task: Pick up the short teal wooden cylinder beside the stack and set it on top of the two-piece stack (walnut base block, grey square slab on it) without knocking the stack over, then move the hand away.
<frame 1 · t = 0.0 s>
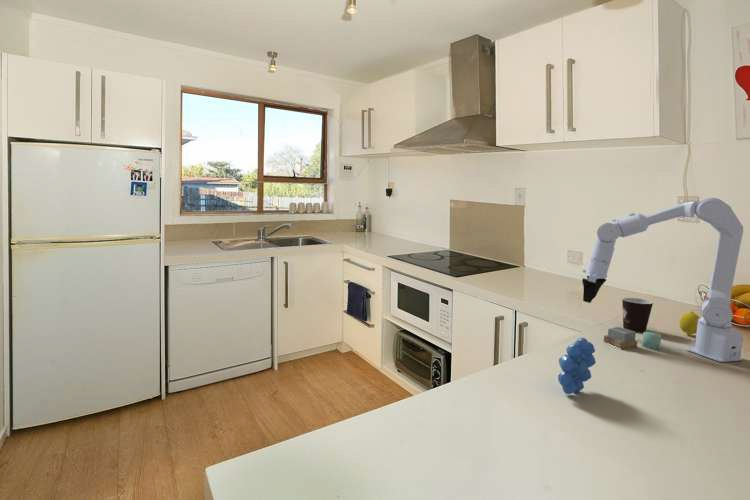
hand: (588, 299, 130), 11 cm above the countertop, tool pointing down, fingers open, 7 cm apart
grapes: (570, 390, 88), on the countertop
teal cylinder: (650, 347, 118), on the countertop
walnut block: (619, 346, 119), on the countertop
grey square slab: (621, 338, 119), point 2 cm above the countertop
coffee mug: (634, 329, 136), on the countertop
lemon: (688, 335, 130), on the countertop
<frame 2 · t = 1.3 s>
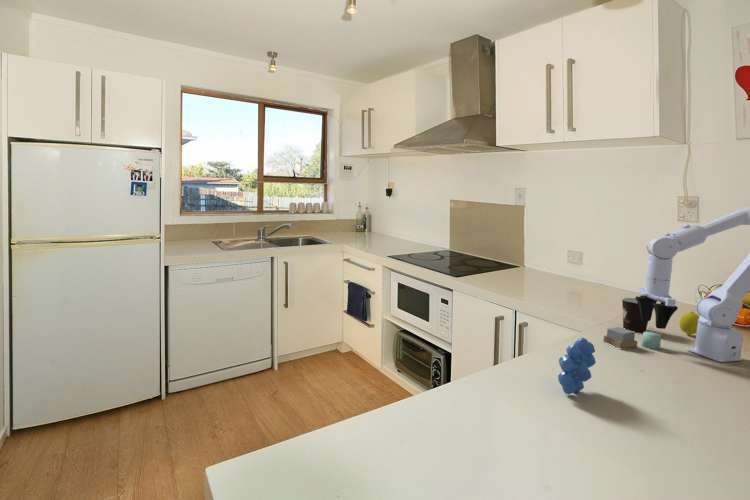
hand: (652, 324, 117), 7 cm above the countertop, tool pointing down, fingers open, 7 cm apart
walnut block: (619, 346, 119), on the countertop, touching grey square slab
grey square slab: (620, 338, 119), point 2 cm above the countertop, touching walnut block
everything else where it was.
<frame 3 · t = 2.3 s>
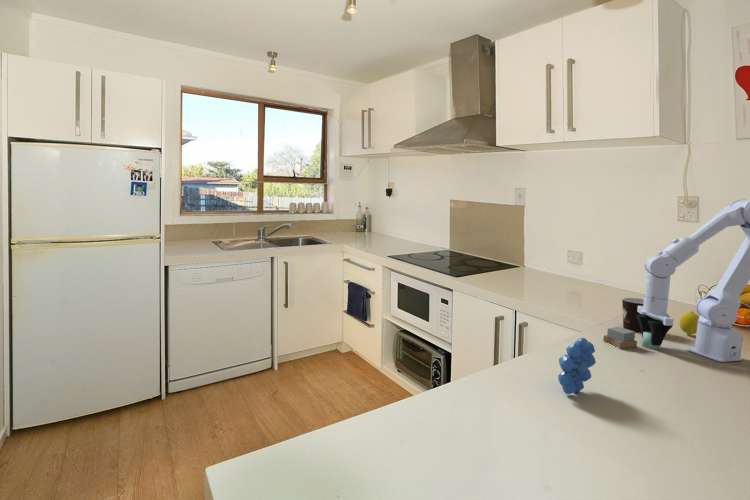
hand: (651, 342, 118), 1 cm above the countertop, tool pointing down, fingers closed on teal cylinder, 4 cm apart
teal cylinder: (650, 347, 118), on the countertop, touching gripper
walnut block: (619, 346, 119), on the countertop
grey square slab: (620, 338, 119), point 2 cm above the countertop
everything else where it was.
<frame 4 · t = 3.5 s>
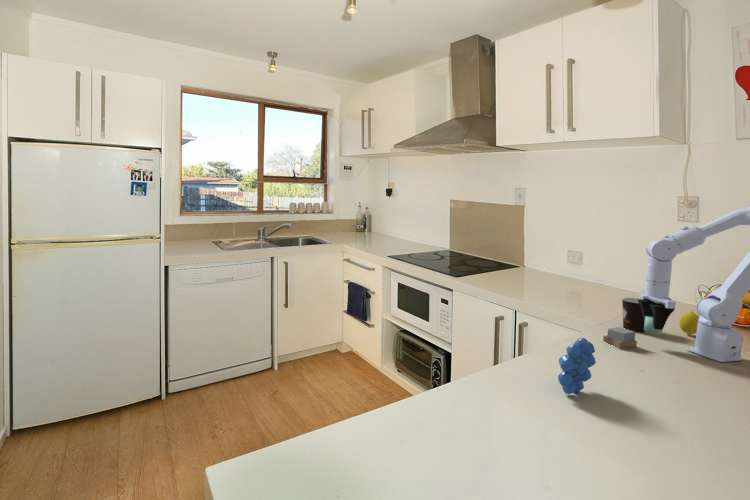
hand: (653, 326, 117), 6 cm above the countertop, tool pointing down, fingers closed on teal cylinder, 4 cm apart
teal cylinder: (652, 331, 117), point 5 cm above the countertop, touching gripper
walnut block: (619, 346, 119), on the countertop, touching grey square slab
grey square slab: (620, 338, 119), point 2 cm above the countertop, touching walnut block
everything else where it was.
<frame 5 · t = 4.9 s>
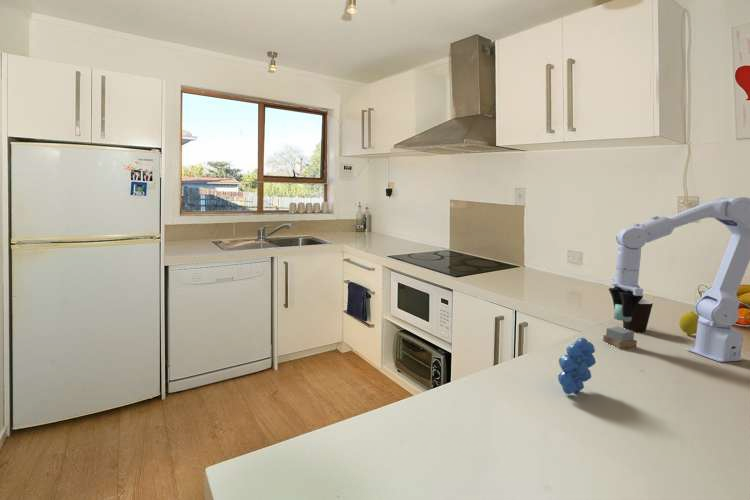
hand: (622, 314, 118), 9 cm above the countertop, tool pointing down, fingers closed on teal cylinder, 4 cm apart
teal cylinder: (622, 319, 118), point 8 cm above the countertop, touching gripper
everything else where it was.
when the fingers open (7 cm above the countertop, at t = 5.7 s): teal cylinder drops 1 cm, point 5 cm above the countertop.
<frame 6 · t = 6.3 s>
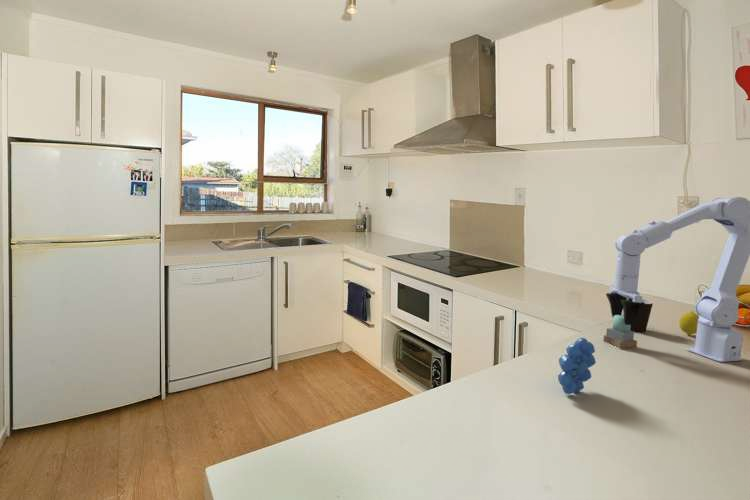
hand: (622, 320, 118), 7 cm above the countertop, tool pointing down, fingers open, 7 cm apart
teal cylinder: (621, 330, 118), point 5 cm above the countertop
everything else where it was.
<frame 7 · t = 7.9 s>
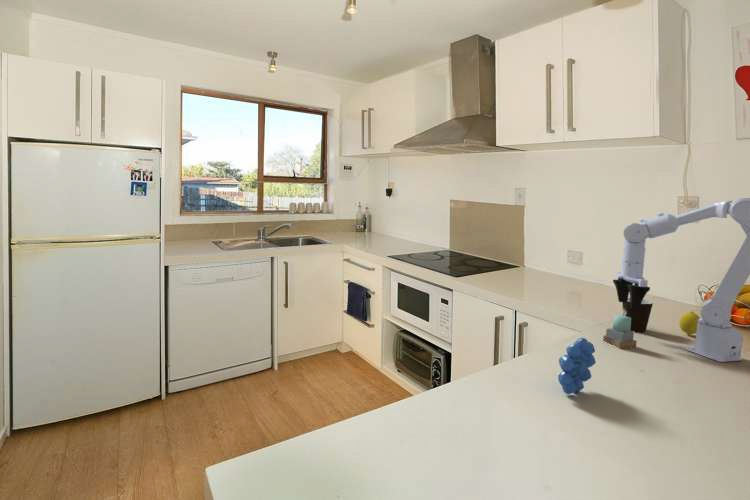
hand: (628, 304, 125), 10 cm above the countertop, tool pointing down, fingers open, 7 cm apart
teal cylinder: (621, 330, 119), point 4 cm above the countertop, touching grey square slab
grey square slab: (619, 338, 119), point 2 cm above the countertop, touching teal cylinder, walnut block
everything else where it was.
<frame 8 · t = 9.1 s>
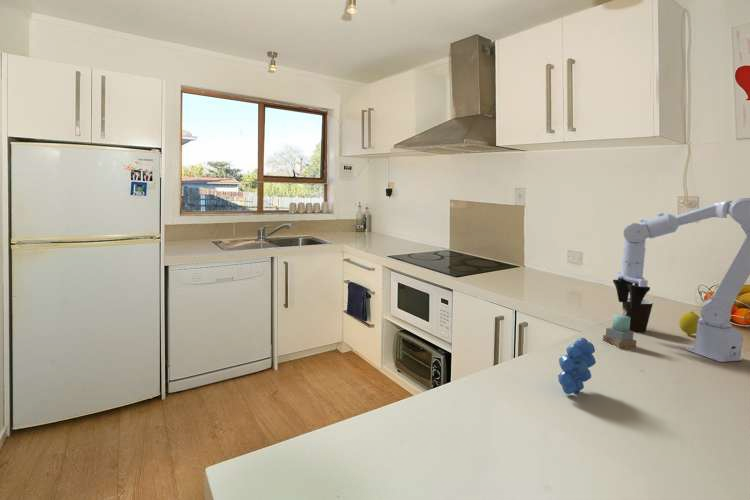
hand: (628, 304, 125), 10 cm above the countertop, tool pointing down, fingers open, 7 cm apart
nothing on the countertop moved.
at the end: teal cylinder 0.1 cm off-centre on the walnut block, point 5.0 cm above the walnut block's base; grey square slab tilted 0°; the gripper is holding nothing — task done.
